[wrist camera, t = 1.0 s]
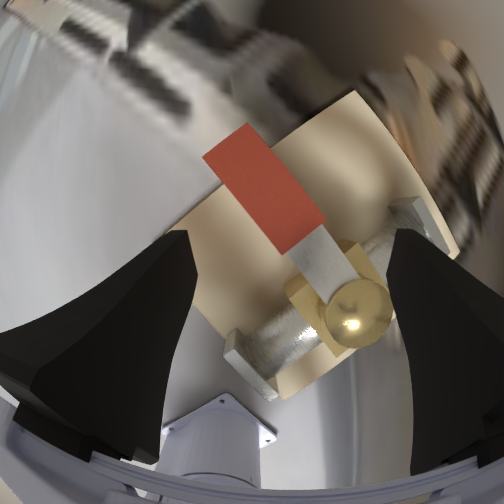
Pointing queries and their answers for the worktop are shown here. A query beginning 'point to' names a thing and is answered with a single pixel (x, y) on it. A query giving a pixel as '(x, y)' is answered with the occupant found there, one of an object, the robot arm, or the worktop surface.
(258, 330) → the valve
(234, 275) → the board
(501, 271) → the worktop surface
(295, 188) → the lever
